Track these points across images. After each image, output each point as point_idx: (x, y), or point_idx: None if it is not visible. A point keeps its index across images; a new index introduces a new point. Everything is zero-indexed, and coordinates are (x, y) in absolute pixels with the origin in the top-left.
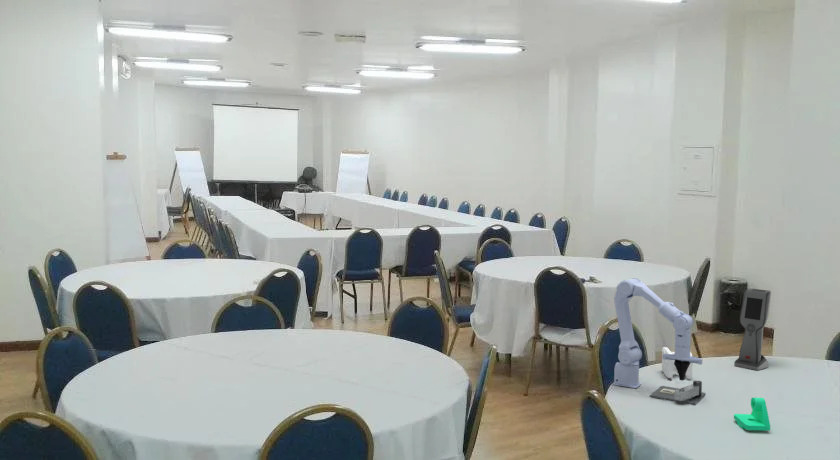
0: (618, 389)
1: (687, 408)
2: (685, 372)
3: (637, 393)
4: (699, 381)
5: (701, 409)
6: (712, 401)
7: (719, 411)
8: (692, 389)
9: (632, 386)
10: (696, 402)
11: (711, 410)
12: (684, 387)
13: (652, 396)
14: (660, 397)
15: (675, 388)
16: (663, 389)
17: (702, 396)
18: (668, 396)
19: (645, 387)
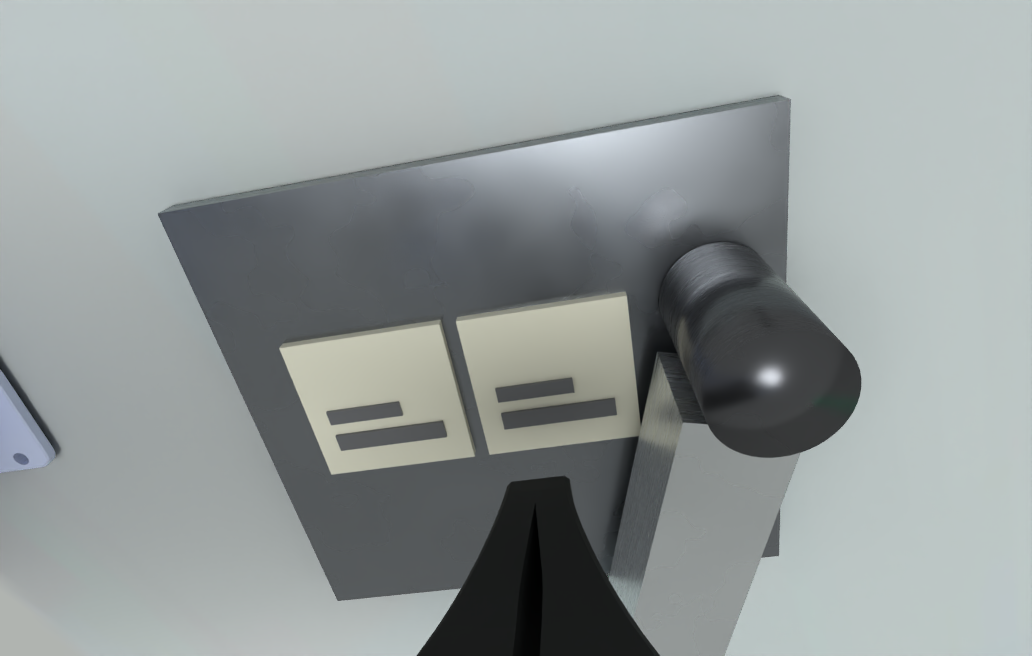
0: (3, 562)
1: (733, 634)
2: (591, 573)
3: (194, 557)
4: (810, 358)
5: (847, 594)
6: (914, 315)
7: (1013, 553)
8: (750, 563)
9: (5, 460)
10: (778, 519)
11: (937, 569)
12: (651, 594)
13: (364, 592)
14: (437, 586)
15: (362, 208)
16: (309, 389)
17: (782, 276)
18: (481, 535)
19: (65, 339)
